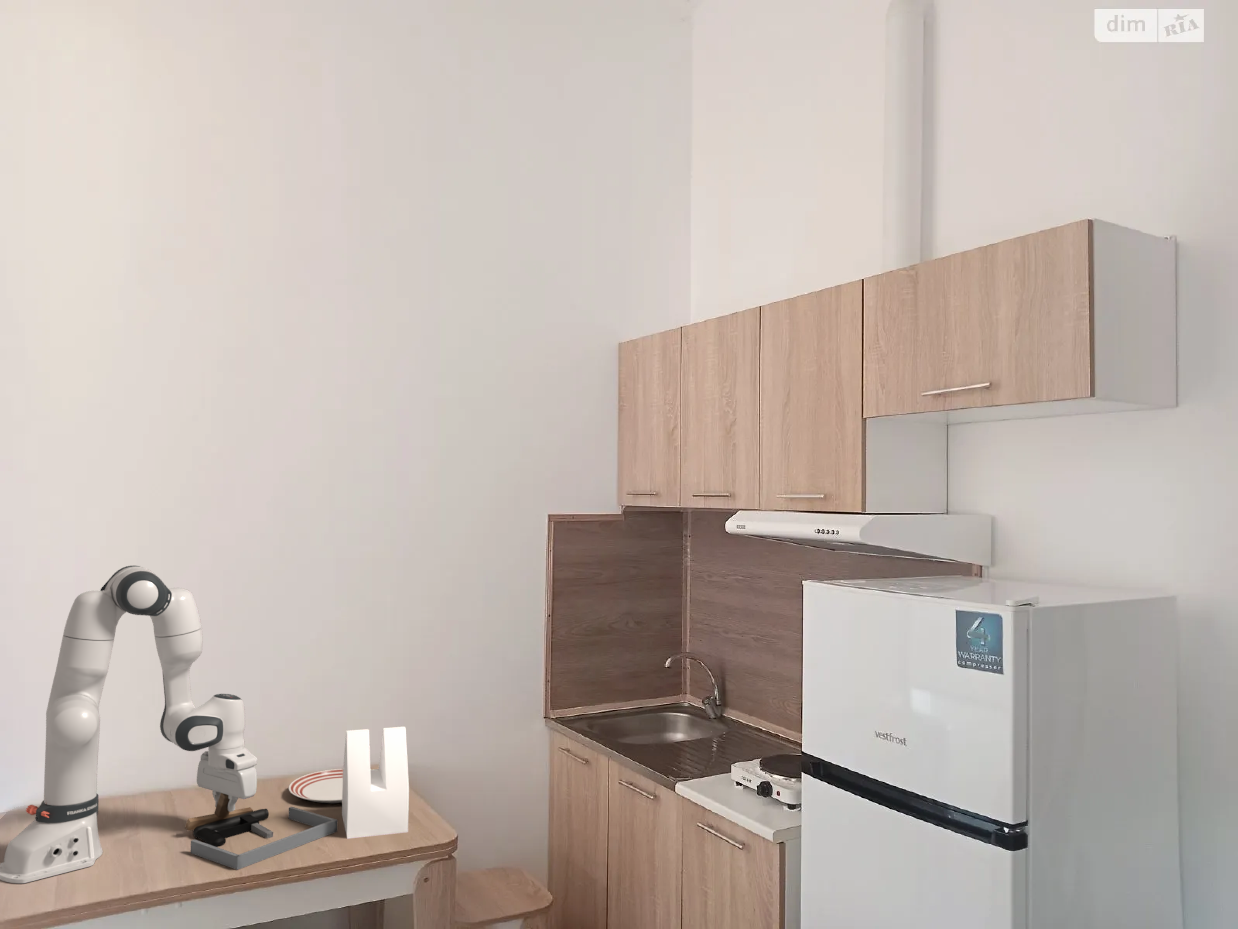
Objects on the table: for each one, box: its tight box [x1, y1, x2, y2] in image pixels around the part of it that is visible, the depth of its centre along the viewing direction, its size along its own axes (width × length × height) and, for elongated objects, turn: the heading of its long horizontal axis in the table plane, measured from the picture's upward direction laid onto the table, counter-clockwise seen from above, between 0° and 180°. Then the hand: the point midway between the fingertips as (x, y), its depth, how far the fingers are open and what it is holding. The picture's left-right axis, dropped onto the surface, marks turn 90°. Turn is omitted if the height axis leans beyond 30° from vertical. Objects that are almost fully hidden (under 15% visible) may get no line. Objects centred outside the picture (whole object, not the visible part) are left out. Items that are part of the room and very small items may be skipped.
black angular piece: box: [192, 808, 274, 848], centre depth 245 cm, size 3×20×16 cm
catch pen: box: [190, 806, 339, 870], centre depth 239 cm, size 30×18×3 cm, turn 148°
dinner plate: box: [288, 768, 343, 804], centre depth 278 cm, size 28×27×3 cm
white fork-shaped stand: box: [341, 726, 410, 840], centre depth 255 cm, size 19×15×25 cm
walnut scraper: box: [184, 793, 254, 832], centre depth 248 cm, size 18×2×8 cm, turn 145°
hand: (225, 809), depth 249 cm, fingers closed on walnut scraper, 3 cm apart
